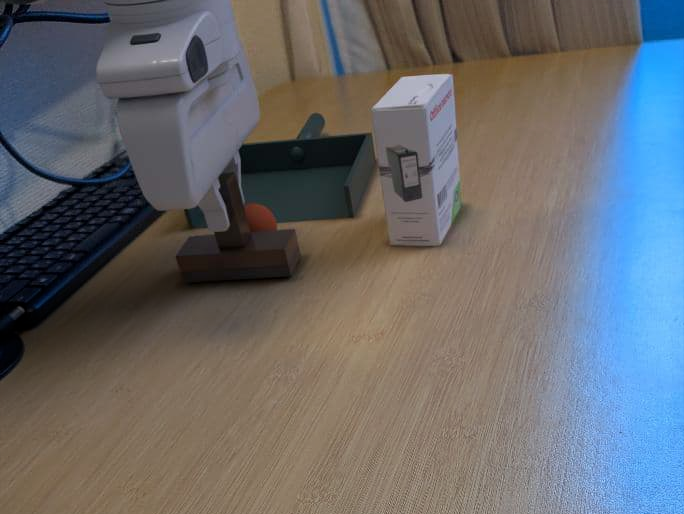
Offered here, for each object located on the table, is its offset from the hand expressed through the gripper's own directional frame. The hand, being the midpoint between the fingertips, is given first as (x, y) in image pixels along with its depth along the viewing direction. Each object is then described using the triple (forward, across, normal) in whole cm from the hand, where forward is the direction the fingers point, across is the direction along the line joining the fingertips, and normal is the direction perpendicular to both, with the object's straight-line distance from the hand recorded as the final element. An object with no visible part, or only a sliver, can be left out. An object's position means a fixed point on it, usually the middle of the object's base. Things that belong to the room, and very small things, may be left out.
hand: (228, 218), depth 70 cm
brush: (+5, 0, 0) cm, 5 cm away
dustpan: (+5, -23, 0) cm, 24 cm away
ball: (+3, -5, 0) cm, 6 cm away
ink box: (+5, -7, +16) cm, 18 cm away
